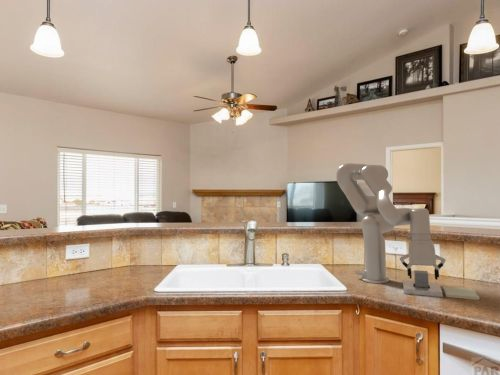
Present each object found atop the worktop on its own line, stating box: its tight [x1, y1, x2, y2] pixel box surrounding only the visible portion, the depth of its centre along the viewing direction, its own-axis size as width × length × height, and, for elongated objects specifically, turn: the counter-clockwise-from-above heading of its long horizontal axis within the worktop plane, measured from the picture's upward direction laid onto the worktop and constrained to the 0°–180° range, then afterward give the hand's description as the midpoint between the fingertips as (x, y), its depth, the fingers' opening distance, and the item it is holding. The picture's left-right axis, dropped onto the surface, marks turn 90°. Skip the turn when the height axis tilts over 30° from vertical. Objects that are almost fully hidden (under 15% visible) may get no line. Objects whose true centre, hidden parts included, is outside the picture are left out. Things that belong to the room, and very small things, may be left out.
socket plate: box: [402, 280, 443, 298], centre depth 143 cm, size 14×14×2 cm
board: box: [442, 286, 480, 301], centre depth 137 cm, size 11×12×1 cm
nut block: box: [413, 269, 429, 288], centre depth 143 cm, size 5×5×8 cm
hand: (423, 278), depth 142 cm, fingers open, 9 cm apart
